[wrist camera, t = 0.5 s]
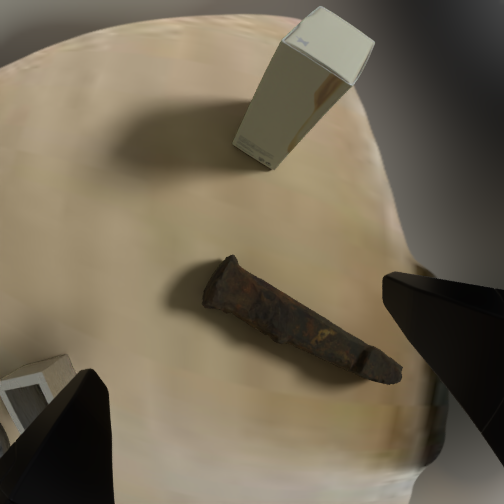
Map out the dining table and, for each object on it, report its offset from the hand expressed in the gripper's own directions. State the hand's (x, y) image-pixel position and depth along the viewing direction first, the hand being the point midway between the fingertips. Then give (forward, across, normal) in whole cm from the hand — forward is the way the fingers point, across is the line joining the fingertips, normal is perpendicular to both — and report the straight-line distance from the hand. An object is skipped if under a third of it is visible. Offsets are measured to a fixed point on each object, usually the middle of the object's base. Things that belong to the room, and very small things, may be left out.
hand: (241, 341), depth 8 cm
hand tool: (+12, -6, +11) cm, 17 cm away
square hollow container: (+9, +16, +8) cm, 20 cm away
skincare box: (+19, -7, -5) cm, 21 cm away
